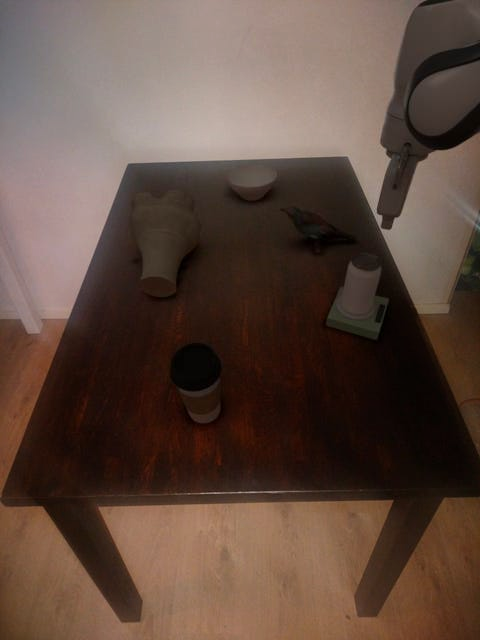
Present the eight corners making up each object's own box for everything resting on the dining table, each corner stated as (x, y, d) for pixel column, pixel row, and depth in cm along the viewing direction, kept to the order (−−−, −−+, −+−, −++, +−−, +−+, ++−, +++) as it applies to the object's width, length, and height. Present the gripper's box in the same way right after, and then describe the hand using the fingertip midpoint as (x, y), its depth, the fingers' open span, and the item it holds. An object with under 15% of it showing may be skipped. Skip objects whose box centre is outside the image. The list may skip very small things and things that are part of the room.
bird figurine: (351, 227, 108) (322, 172, 95) (362, 248, 102) (332, 192, 89) (309, 250, 113) (276, 202, 100) (317, 272, 106) (282, 223, 93)
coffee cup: (179, 430, 68) (163, 382, 57) (184, 390, 74) (170, 339, 63) (226, 429, 68) (219, 381, 57) (227, 389, 74) (221, 338, 63)
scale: (386, 306, 87) (389, 296, 85) (376, 340, 80) (379, 330, 78) (339, 294, 91) (340, 284, 89) (325, 325, 84) (327, 315, 82)
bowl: (222, 188, 129) (221, 167, 124) (267, 180, 132) (268, 160, 127) (235, 211, 119) (233, 190, 114) (283, 202, 121) (284, 181, 116)
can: (335, 299, 85) (343, 255, 76) (361, 292, 86) (372, 248, 78) (349, 319, 81) (359, 275, 72) (376, 311, 82) (390, 267, 73)
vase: (197, 276, 77) (207, 180, 91) (88, 266, 76) (114, 170, 89) (196, 326, 96) (204, 241, 110) (108, 319, 94) (128, 233, 108)
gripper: (426, 163, 51) (400, 249, 61) (441, 111, 63) (417, 190, 73) (377, 157, 53) (360, 241, 63) (401, 108, 65) (383, 185, 75)
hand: (391, 213), depth 68 cm, fingers open, 8 cm apart
